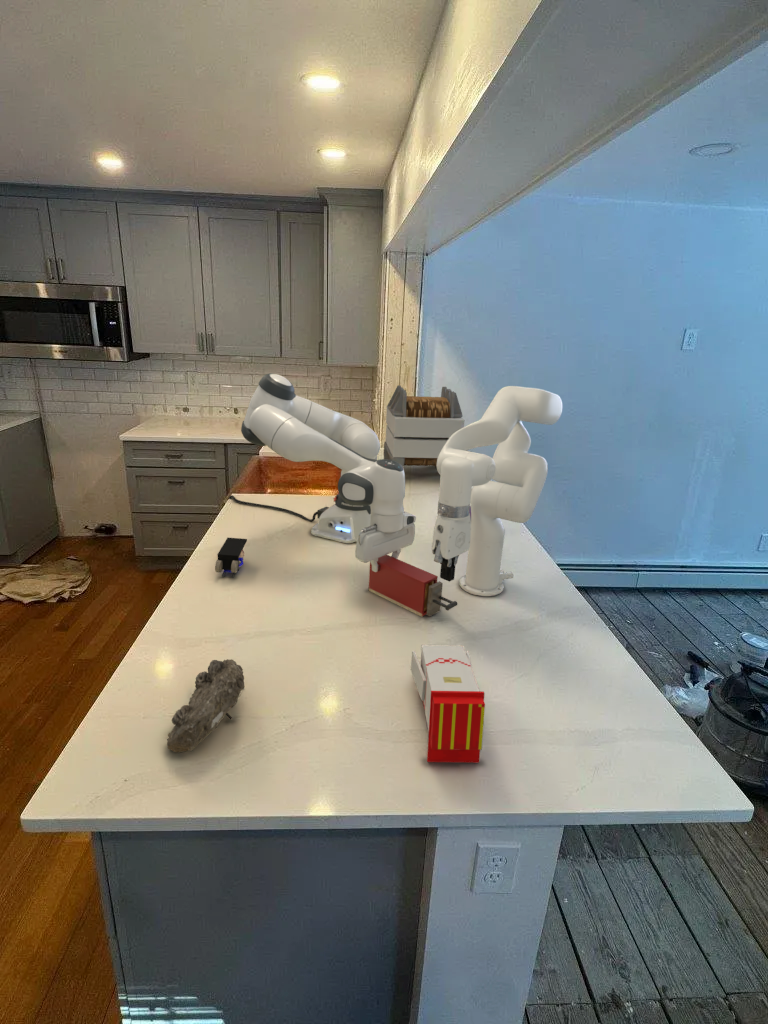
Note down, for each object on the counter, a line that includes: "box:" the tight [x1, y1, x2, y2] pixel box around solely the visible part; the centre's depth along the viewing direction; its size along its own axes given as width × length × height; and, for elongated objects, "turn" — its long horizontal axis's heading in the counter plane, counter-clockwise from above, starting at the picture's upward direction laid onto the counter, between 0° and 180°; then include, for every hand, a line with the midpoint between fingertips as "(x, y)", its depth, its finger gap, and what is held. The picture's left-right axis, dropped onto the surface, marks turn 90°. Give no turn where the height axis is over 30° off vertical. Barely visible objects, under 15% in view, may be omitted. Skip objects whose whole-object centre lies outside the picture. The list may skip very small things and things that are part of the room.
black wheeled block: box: [214, 537, 248, 578], centre depth 166 cm, size 7×8×15 cm
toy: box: [410, 644, 486, 764], centre depth 111 cm, size 12×13×30 cm
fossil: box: [166, 658, 245, 754], centre depth 106 cm, size 22×10×15 cm
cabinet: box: [368, 554, 439, 618], centre depth 153 cm, size 19×6×10 cm, turn 47°
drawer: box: [424, 580, 458, 617], centre depth 150 cm, size 24×4×8 cm, turn 47°
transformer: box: [383, 384, 465, 469], centre depth 268 cm, size 34×33×41 cm
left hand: (384, 567), depth 156 cm, fingers closed on cabinet, 5 cm apart
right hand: (446, 578), depth 141 cm, fingers closed
